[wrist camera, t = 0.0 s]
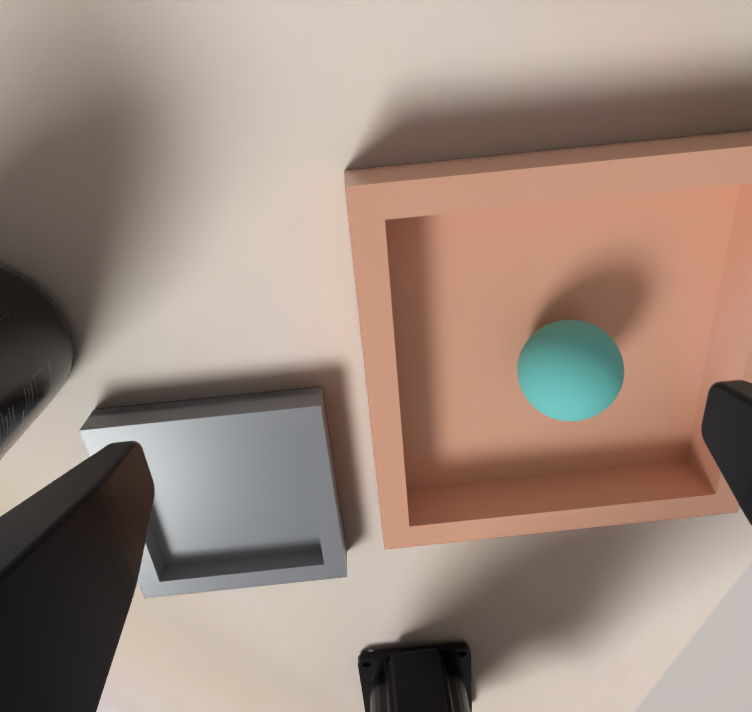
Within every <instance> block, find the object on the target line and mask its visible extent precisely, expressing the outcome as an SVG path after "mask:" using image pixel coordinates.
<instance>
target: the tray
mask: <svg viewBox="0 0 752 712" xmlns="http://www.w3.org/2000/svg"><path fill="white" fill-rule="evenodd" d="M79 431H80V434H81V436H82V439H83V441H84V444H85V447H86V449H87V452H88V454H89V457H90V456H92V455H93V454H95V453H96V452H98V451H99V450H101V449H102V448H104V447H105V446H107V445H108V444H110V443H115V442H125V441H136V442H138V443H140V445H141V446H142V448H143V451H144V454H145V457H146V460H147V463H148V466H149V469H150V472H151V475H152V478H153V482H154V487H155V496H154V501H153V507H152V512H151V517H150V522H149V527H148V532H147V537H146V542H145V547H144V552H143V557H142V562H141V567H140V572H139V576H138V583H139V585H140V588H141V591H142V593H143V596H144V598H153V597H162V596H172V595H181V594H191V593H200V592H209V591H219V590H228V589H238V588H247V587H256V586H266V585H275V584H285V583H294V582H304V581H313V580H322V579H332V578H341V577H347V551H346V545H345V538H344V531H343V525H342V518H341V511H340V505H339V498H338V491H337V485H336V478H335V471H334V465H333V458H332V451H331V445H330V438H329V431H328V425H327V418H326V411H325V405H324V398H323V392H322V386H319V387H310V388H300V389H290V390H281V391H271V392H261V393H251V394H242V395H232V396H222V397H213V398H203V399H193V400H183V401H174V402H164V403H154V404H145V405H135V406H125V407H115V408H106V409H96V410H93V412H92V413H91V415H90V416H89V417H88V419H87V420H86V422H85V423H84V425H83V426H82V427H81V429H80V430H79Z"/></svg>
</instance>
